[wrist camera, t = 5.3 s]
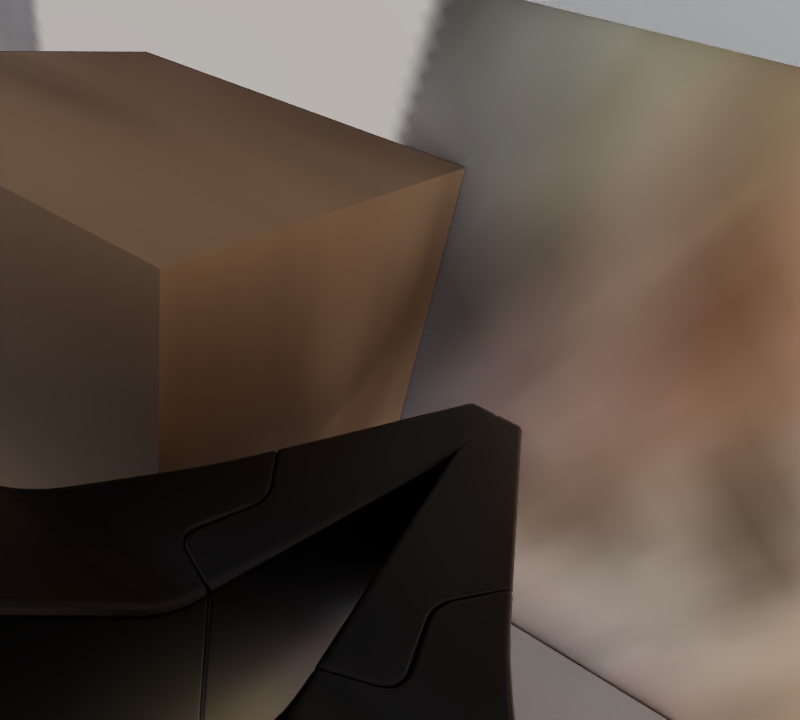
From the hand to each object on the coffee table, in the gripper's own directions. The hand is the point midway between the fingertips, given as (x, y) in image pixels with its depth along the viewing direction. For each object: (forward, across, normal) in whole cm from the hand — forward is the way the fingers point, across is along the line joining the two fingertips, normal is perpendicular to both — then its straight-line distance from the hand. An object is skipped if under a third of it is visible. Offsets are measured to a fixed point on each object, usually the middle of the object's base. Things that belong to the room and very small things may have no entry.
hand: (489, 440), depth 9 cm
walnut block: (+2, +6, 0) cm, 6 cm away
